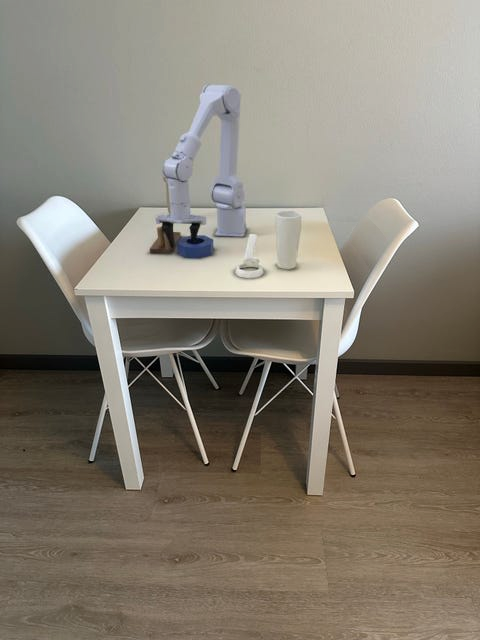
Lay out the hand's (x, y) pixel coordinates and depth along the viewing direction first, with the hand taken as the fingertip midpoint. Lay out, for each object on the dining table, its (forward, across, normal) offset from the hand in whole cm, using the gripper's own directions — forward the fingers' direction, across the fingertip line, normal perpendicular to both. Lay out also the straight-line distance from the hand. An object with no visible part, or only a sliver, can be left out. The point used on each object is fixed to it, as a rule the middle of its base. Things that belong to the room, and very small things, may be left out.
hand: (183, 246), depth 140 cm
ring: (+2, +4, 0) cm, 4 cm away
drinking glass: (+2, +31, -8) cm, 33 cm away
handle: (+2, -11, +32) cm, 33 cm away
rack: (+2, -7, +5) cm, 8 cm away
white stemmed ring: (+2, +21, -13) cm, 25 cm away
